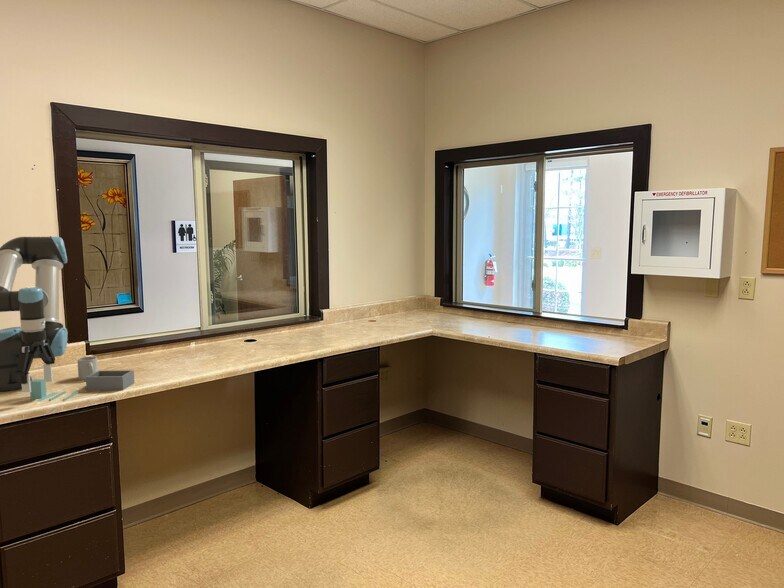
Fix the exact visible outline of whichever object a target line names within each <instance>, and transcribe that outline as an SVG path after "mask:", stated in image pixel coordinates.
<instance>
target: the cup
mask: <svg viewBox="0 0 784 588" xmlns="http://www.w3.org/2000/svg"><path fill="white" fill-rule="evenodd" d="M76 360H77V361H76V362H77V373H78V377H77V378H78V380H80V381H82V380H83V381H86V377H87V376H89V375H91V374H93V373H95V372H97V371H99V369H98V357H97V356H83V357H78V358H77V359H76Z"/></svg>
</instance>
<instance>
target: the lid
mask: <svg viewBox="0 0 784 588" xmlns="http://www.w3.org/2000/svg"><path fill="white" fill-rule="evenodd" d="M46 382H47V381H45V379H32V381H30V383H31V392H29V393H30V401H36V402H42V401H45V400H46V399H48V401H50V402H51V401H54V400H55V399H57V398H59V397H61V396H63V395H66V393H67V391H65V390H64V391H62V392H51V393H49V394H47V383H46ZM78 394H80V391H79V390H77V391H76V392H74V393H71V395H68V396H66V397H64V398H63V400H62V402H63V401H64V402H65V401H67V400H69V399H70V398H73V397H74V396H76V395H78Z"/></svg>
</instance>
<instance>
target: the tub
mask: <svg viewBox="0 0 784 588" xmlns="http://www.w3.org/2000/svg"><path fill="white" fill-rule="evenodd" d="M134 384H135V370H133V369H132V370H131V369H129V370H126V369H125V370H122V369H120V370H119V369H118V370H113V369H112V370H111V369H110V370H98V371H97V372H95V373H93V374H91V375H89V376H87V377H86V380H85V385H86V387H85V388H86V391H125V390H126V389H127V388H129V387H130V386H132V385H134Z"/></svg>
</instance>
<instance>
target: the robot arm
mask: <svg viewBox="0 0 784 588" xmlns="http://www.w3.org/2000/svg"><path fill="white" fill-rule="evenodd" d="M66 251H67V250H66V246H65V241H64V240H63V238H62V237H60V236H51V235H50V236H18V237H15V238H12V239H10V240H9V241H7V242H5V243H3V245H1V246H0V313H4V312H19V317H20V318H19V319H20V326H12V327H6V328H3V329H2V328H1V329H0V392H9V391H10V392H11V391H16V390H20V389H21V392H22V393H30V392H31V383H30V381H32V380H33V379H32V376H31V374H30V369H31V366H32V364H33V360H35V359H41V360H42V362H43V363H44V364H42V366H43V367H42V368H43V376H44V379H45V381H46V382H53V381H54V379H53V378H54V377H53V365H54V364H55V363H56V362H55V361H56V358H57V357H61V356H63V355H65V353H66V349H67V345H68V333H69V332H68V329H67V328H66V327H64V324H63V323H62V322H61V321H60V271H61V270H62V269H63V268H64V264H67V263H68V256H67V252H66ZM22 265H30V266H31V268H32V269H34V270H35V277H34V278H35V283H34V285H35V286H34V287H33V286H32V287H23V288H19V290H13V287H14V283H15V279H16V276H17V272H18V269H19V268H20V267H21V266H22ZM12 290H13V291H12Z"/></svg>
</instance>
